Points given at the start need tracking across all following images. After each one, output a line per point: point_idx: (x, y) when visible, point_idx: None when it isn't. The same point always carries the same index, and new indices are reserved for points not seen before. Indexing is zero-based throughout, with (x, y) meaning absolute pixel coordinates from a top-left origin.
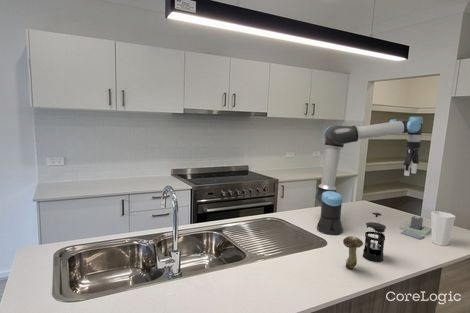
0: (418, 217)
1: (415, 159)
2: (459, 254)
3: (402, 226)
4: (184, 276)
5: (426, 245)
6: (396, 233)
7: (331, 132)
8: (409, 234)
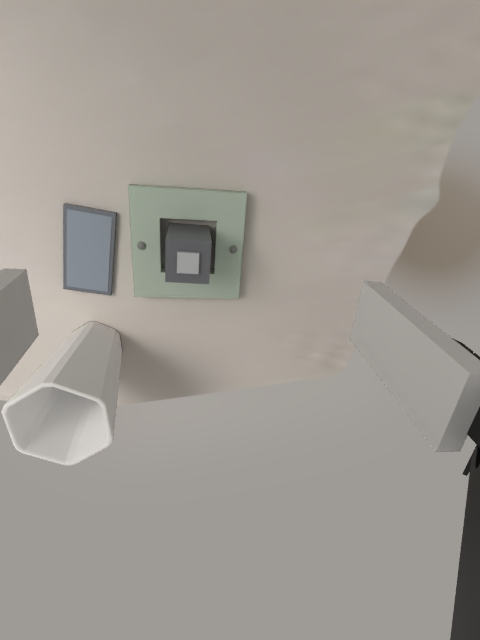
0: (185, 269)
1: (469, 540)
2: None
3: (143, 192)
4: None
5: None
6: (46, 187)
7: None
8: (73, 242)
